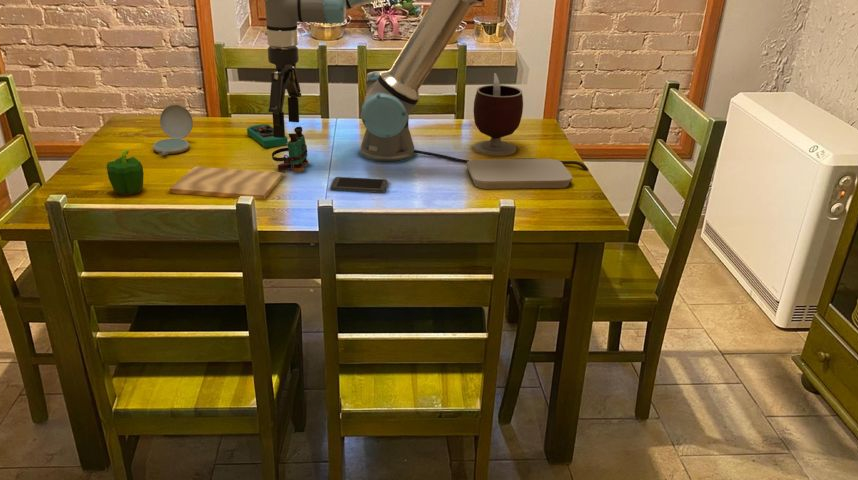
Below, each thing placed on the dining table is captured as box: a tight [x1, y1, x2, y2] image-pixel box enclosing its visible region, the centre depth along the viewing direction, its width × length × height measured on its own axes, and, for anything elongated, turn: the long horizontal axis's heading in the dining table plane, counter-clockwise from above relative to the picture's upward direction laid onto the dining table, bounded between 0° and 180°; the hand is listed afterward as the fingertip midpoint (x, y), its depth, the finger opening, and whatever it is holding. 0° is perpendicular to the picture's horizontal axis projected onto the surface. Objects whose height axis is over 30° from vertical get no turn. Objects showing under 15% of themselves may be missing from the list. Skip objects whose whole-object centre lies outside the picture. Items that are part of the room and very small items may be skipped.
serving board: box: [169, 165, 284, 201], centre depth 186 cm, size 24×16×1 cm, turn 82°
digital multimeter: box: [246, 123, 289, 149], centre depth 217 cm, size 7×15×3 cm, turn 31°
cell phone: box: [330, 176, 389, 193], centre depth 187 cm, size 7×14×1 cm, turn 85°
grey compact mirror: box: [152, 104, 194, 156], centre depth 207 cm, size 10×11×15 cm
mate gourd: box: [473, 72, 524, 157], centre depth 211 cm, size 16×14×20 cm
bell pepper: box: [106, 149, 145, 195], centre depth 179 cm, size 8×8×10 cm
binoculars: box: [271, 126, 310, 173], centre depth 196 cm, size 9×11×10 cm
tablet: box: [466, 158, 573, 190], centre depth 194 cm, size 16×26×2 cm, turn 94°
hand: (286, 129), depth 193 cm, fingers open, 13 cm apart
